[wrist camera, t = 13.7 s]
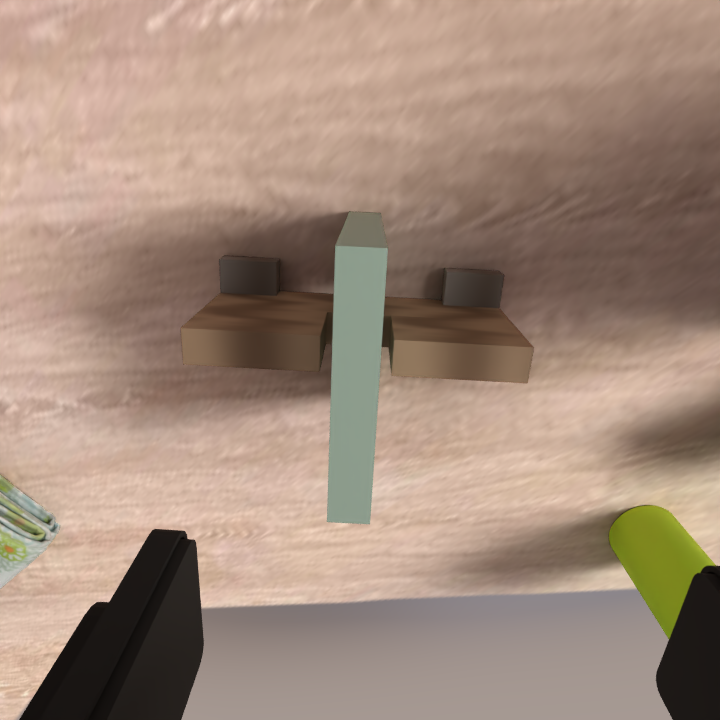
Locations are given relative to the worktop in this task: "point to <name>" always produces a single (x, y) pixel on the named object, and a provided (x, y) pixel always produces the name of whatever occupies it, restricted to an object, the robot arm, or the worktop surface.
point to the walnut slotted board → (400, 332)
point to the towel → (21, 530)
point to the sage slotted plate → (356, 365)
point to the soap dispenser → (658, 559)
